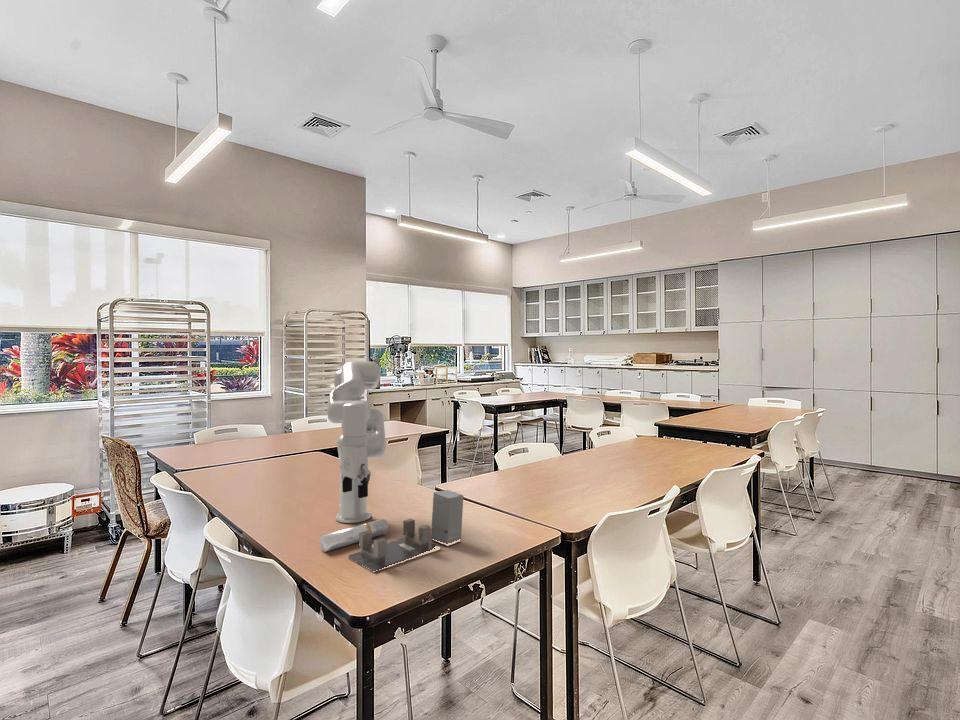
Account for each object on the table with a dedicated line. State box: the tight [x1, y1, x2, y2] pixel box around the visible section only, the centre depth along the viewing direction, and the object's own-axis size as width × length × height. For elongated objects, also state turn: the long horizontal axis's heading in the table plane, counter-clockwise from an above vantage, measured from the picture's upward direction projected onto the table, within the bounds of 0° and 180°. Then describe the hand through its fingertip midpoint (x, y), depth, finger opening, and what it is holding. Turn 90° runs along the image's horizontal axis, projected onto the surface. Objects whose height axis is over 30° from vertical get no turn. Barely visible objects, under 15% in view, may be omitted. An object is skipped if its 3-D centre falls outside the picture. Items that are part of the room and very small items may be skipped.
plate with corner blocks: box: [348, 518, 437, 571], centre depth 155 cm, size 14×24×8 cm, turn 134°
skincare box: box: [431, 489, 464, 544], centre depth 165 cm, size 8×7×16 cm
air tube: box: [319, 518, 389, 553], centre depth 165 cm, size 22×5×5 cm, turn 134°
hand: (354, 494), depth 164 cm, fingers open, 9 cm apart
